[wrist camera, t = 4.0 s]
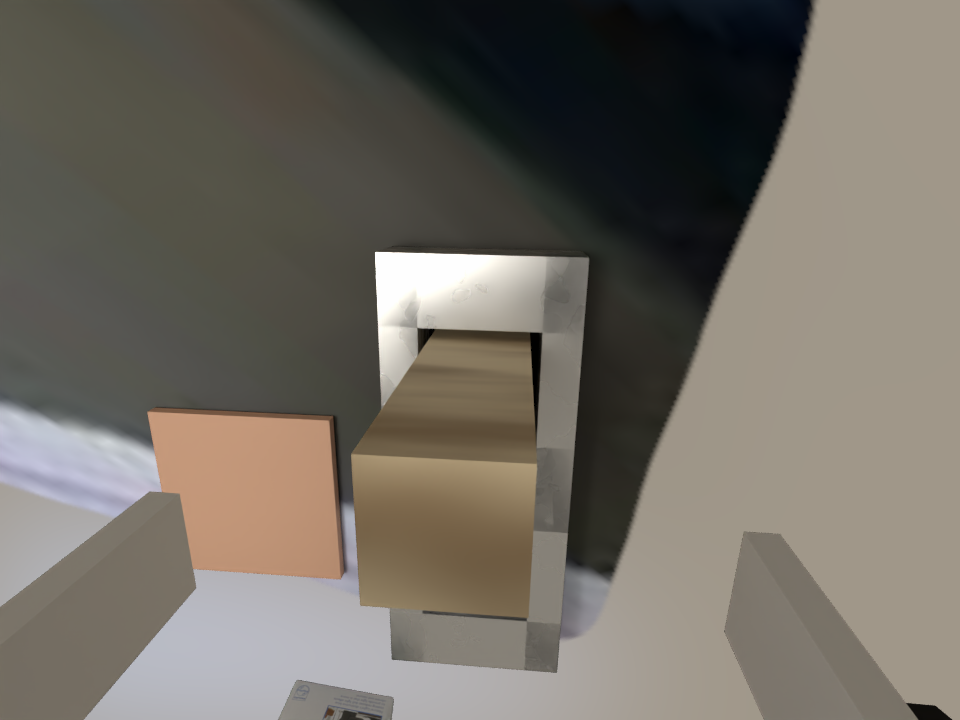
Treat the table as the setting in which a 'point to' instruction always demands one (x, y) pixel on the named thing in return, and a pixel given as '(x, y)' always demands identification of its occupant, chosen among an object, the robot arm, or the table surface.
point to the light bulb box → (334, 704)
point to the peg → (451, 480)
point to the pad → (253, 489)
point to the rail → (560, 320)
